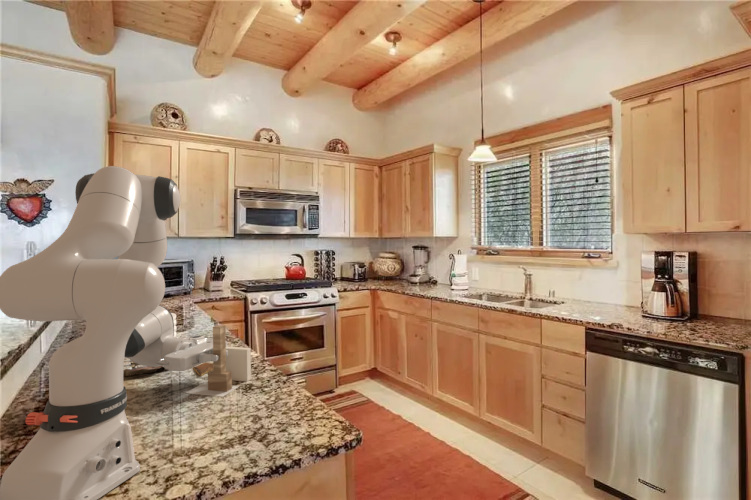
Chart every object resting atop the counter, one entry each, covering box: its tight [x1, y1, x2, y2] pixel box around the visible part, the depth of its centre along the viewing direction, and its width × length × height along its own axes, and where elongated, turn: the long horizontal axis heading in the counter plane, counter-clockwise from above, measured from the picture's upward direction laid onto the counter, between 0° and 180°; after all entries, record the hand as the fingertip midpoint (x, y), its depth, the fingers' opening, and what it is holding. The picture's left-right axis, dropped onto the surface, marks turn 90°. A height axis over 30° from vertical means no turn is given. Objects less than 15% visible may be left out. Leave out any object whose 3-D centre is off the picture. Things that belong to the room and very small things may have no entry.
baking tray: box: [123, 357, 168, 377], centre depth 136 cm, size 30×22×5 cm
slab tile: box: [226, 346, 252, 383], centre depth 121 cm, size 2×8×10 cm, turn 76°
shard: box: [192, 362, 213, 377], centre depth 130 cm, size 11×8×2 cm
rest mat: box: [184, 382, 240, 397], centre depth 113 cm, size 8×12×1 cm, turn 76°
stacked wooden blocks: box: [207, 324, 233, 392], centre depth 113 cm, size 2×6×18 cm, turn 76°
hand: (222, 355), depth 112 cm, fingers closed on stacked wooden blocks, 2 cm apart
